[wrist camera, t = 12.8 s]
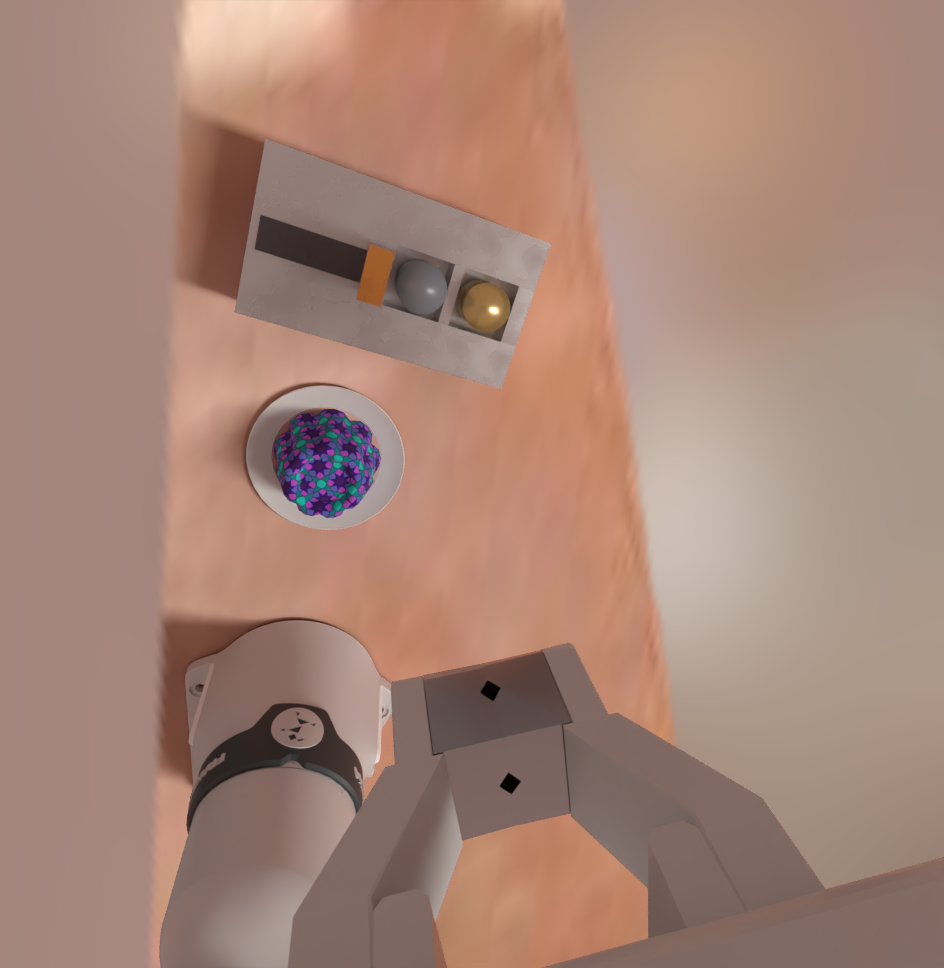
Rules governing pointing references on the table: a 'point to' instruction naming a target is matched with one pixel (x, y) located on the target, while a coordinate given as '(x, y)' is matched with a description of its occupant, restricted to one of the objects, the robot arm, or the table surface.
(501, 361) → the panel
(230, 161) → the table surface
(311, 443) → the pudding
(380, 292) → the slider
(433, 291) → the button slate
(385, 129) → the table surface
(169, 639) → the table surface
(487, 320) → the button brass
